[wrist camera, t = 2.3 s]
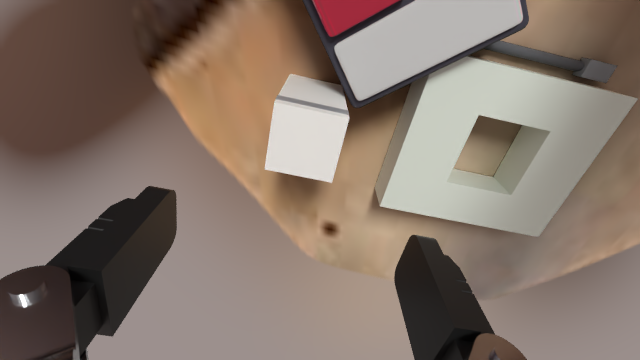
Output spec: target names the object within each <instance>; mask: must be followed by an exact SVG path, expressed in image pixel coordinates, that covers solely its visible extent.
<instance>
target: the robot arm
mask: <svg viewBox="0 0 640 360" xmlns="http://www.w3.org/2000/svg"><path fill="white" fill-rule="evenodd" d="M176 223H177V222H176V193H175V191H174V190H169V189H164V188H158V187H153V186H148V187H147V188H145V190H144V191H143V192H142V193H140V194H139V196H137V197H136V198H135V199H130V198H127V199H125V200H122V201H120V202H118V203H116V204H114V205H112V206H110V207H109V208H108V209H107V210H106V211H105V212H103V213H102V214H101V215H100V216H99V218H98V219H96V220H95V221H94V222H92V223H91V224H90V225H89V227H88V229H85V230H84V231H83V232H82V233H80V234H79V235H78V236H77V237H76V238H75V239H74V240H73V241H71V242H70V243H69V244H68V245H67V246H66V247H65V248H64V249H63V250H62V251H60V253H58V254H57V255H56V256H55V257H54V258H53V259H52V260H51V261H49V262H48V263H47V264H46V265H42V266H34V267H29V268H25V269H21V270H19V271H16V272H13V273H11V274H9V275H7V276H5V277H3V278H1V279H0V360H88V351H87V347H88V345H89V344H90V342H91V341H92V339H93V338H94V337H95V335H96V334H99V335H106V336H113V335H114V333H115V332H116V330H117V329H118V327H119V326H120V324H121V323H122V321H123V320H124V318H125V317H126V315H127V314H128V312H129V310H130V309H131V307H132V306H133V304H134V303H135V301H136V300H137V298H138V296H139V295H140V294H141V292H142V291H143V289H144V287H145V286H146V284H147V283H148V281H149V280H150V278H151V277H152V275H153V274H154V272H155V271H156V269H157V267H158V266H159V264H160V263H161V261H162V260H163V258H164V257H165V255H166V254H167V252H168V251H169V249H170V248H171V246H172V244H173V241H174V239H175V235H176V228H177V226H176V225H177V224H176ZM395 286H396V290H397V294H398V297H399V302H400V305H401V309H402V313H403V317H404V321H405V325H406V328H407V332H408V336H409V340H410V344H411V347H412V351H413V355H414V359H415V360H527V359H526V358H525V356H524V355H523V354H522V353H521V352H520V351H519V350H518V349H517V348H516V347H515V346H514V345H512V344H511V343H510V342H508V341H507V340H505V339H504V338H502V337H499V336H497V335H495V333H494V331H493V330H492V328H491V326H490V324H489V322H488V321H487V319H486V316H485V315H484V313H483V311H482V309H481V307H480V305H479V303H478V301H477V300H476V298H475V296H474V294H472V290H471V288H470V286H469V285H468V283H466V279H465V277H464V275H463V273H462V271H461V270H460V268H459V267H458V266H457V265H456V264H455V263H454V262H453V260H452V259H451V258H450V257H449V256H447V255H444V254H443V252H442V250H441V248H440V246H439V244H438V242H437V240H436V239H434V238H429V237H423V236H418V235H412V236H411V237H410V238H409V240H408V242H407V244H406V246H405V249H404V251H403V253H402V255H401V258H400V260H399V262H398V264H397V267H396V270H395Z"/></svg>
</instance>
